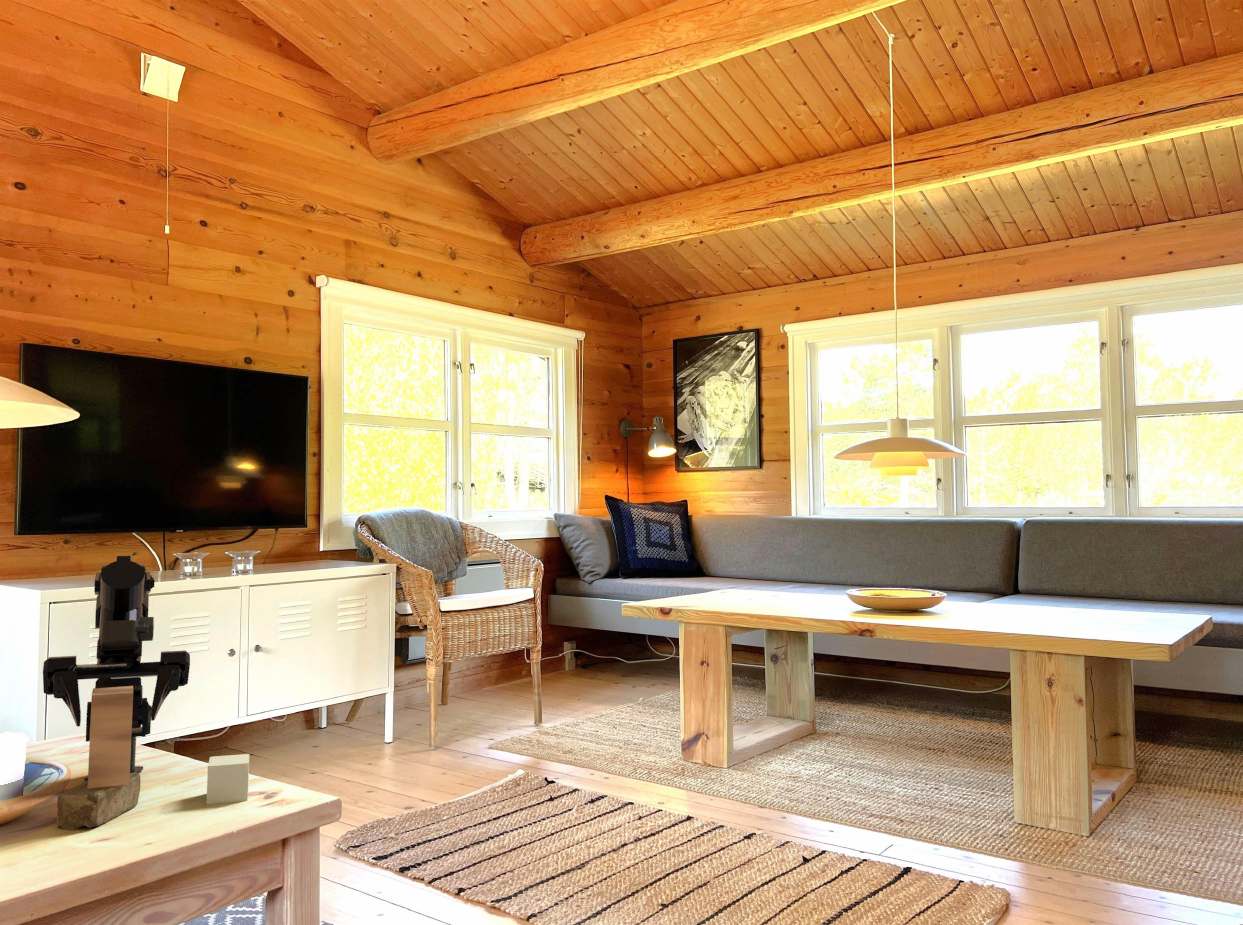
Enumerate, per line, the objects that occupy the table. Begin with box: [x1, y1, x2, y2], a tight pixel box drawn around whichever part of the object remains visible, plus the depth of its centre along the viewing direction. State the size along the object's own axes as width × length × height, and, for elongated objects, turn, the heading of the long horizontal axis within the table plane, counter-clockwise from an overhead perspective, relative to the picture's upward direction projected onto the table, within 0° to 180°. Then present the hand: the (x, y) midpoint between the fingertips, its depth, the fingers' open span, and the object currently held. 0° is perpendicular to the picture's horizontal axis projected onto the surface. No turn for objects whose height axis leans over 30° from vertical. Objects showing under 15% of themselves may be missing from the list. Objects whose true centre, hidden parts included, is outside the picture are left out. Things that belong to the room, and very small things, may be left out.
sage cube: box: [206, 753, 250, 805], centre depth 138 cm, size 6×6×6 cm
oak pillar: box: [87, 686, 133, 789], centre depth 129 cm, size 5×5×12 cm
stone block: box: [56, 773, 142, 830], centre depth 129 cm, size 6×12×5 cm, turn 177°
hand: (116, 721), depth 131 cm, fingers open, 9 cm apart
